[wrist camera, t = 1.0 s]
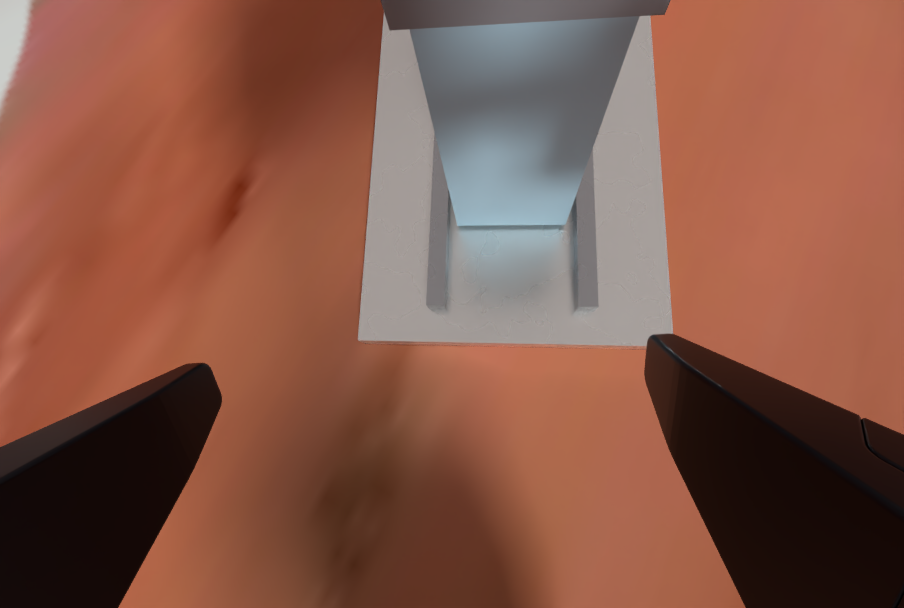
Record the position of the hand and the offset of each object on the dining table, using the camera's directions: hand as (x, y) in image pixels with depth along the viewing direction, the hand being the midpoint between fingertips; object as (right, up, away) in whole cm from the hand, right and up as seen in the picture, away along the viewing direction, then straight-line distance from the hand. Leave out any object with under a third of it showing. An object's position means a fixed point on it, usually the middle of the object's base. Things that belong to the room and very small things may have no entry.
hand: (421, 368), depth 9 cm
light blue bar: (+4, +8, +13) cm, 15 cm away
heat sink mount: (+4, +11, +15) cm, 19 cm away
